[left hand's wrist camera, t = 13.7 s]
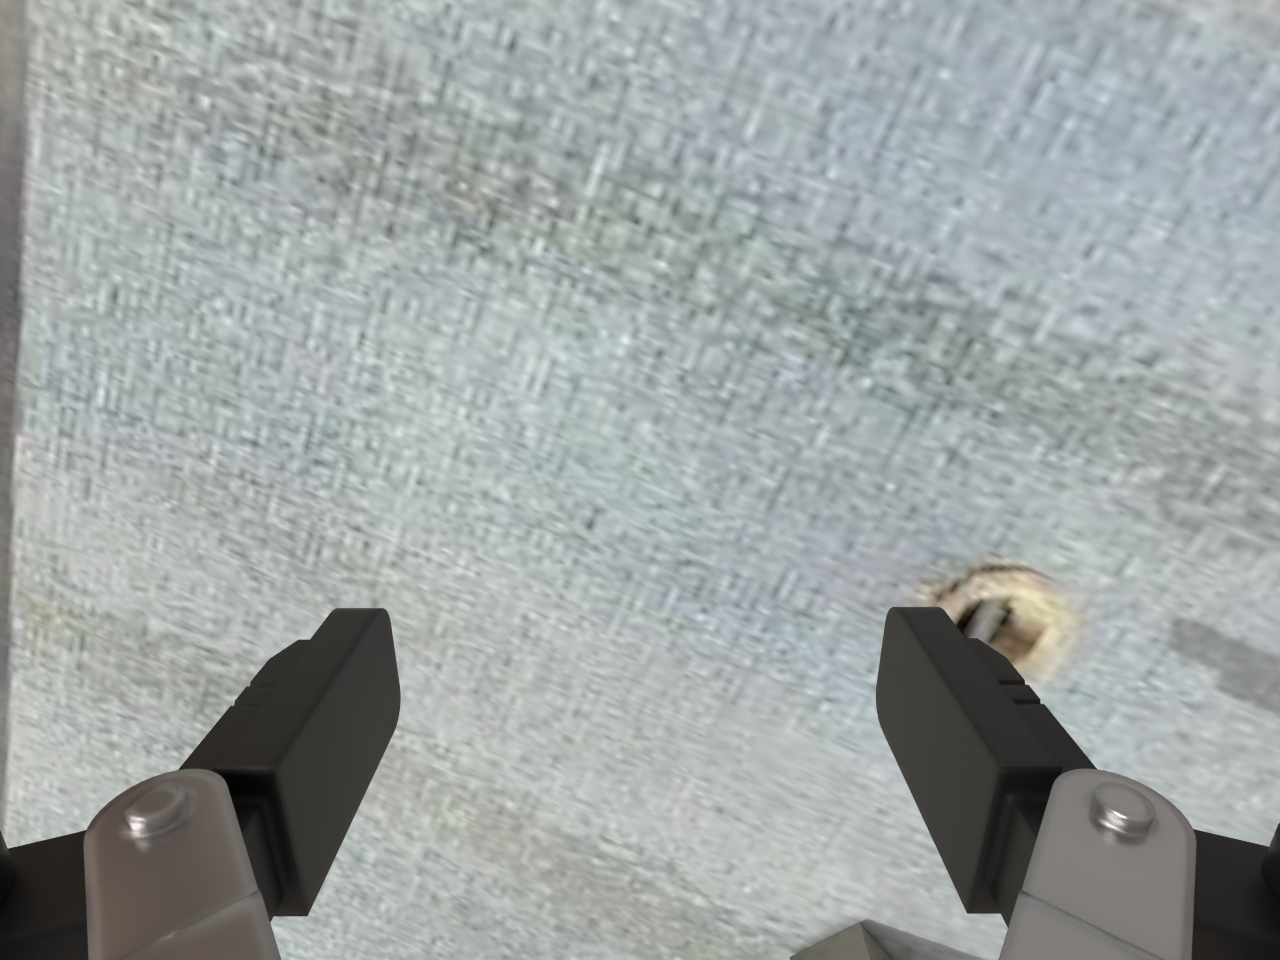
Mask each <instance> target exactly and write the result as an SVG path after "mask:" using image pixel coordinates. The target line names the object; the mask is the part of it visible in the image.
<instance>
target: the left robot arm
mask: <svg viewBox="0 0 1280 960" xmlns="http://www.w3.org/2000/svg"><path fill="white" fill-rule="evenodd" d="M250 683H251V684H250V687H246V688H245V689H244V690H243V692H242V693H241V694H240V695H239V697H238V698H237V699H236V700H235V705H234V706H230V708H229V709H228V710H227V711H226V712H225V714H224V715H223V716H222V717H221V718H220V720H219V721H218V722H217V723H216V725H215V726H214V727H213V728H212V729H211V731H210V732H209V733H208V734H207V735H206V737H205V738H204V739H203V740H202V742H201V743H200V744H199V745H198V746H197V748H196V749H195V750H194V751H193V752H192V754H191V755H190V756H189V757H188V759H187V760H186V761H185V762H184V763H183V765H182V766H181V767H180V768H179V770H176V771H172V772H168V773H164V774H161V775H158V776H155V777H152V778H150V779H147V780H145V781H143V782H140V783H139V784H137V785H135V786H133V787H131V788H129V789H128V790H126V791H124V792H123V793H121V794H120V795H118V796H117V797H116V798H114V799H113V800H112V801H110V802H109V803H108V804H107V805H106V806H105V807H104V808H103V809H101V810H100V811H99V813H98V814H97V815H96V816H95V817H94V819H93V820H92V821H91V823H90V825H89V826H88V828H87V830H85V831H81V832H77V833H73V834H69V835H65V836H61V837H56V838H52V839H48V840H43V841H39V842H35V843H31V844H26V845H22V846H18V847H13V848H9V849H8V848H7V846H6V843H5V841H4V839H3V836H2V834H1V831H0V960H281V957H280V954H279V951H278V947H277V944H276V941H275V937H274V934H273V931H272V927H271V924H270V922H271V920H272V918H273V916H308V914H309V912H310V910H311V907H312V905H313V903H314V901H315V899H316V897H317V895H318V893H319V890H320V888H321V886H322V884H323V882H324V880H325V878H326V876H327V873H328V871H329V869H330V867H331V865H332V863H333V861H334V859H335V856H336V854H337V852H338V850H339V848H340V846H341V844H342V842H343V839H344V837H345V835H346V833H347V831H348V829H349V827H350V824H351V822H352V820H353V818H354V816H355V814H356V812H357V810H358V807H359V805H360V803H361V801H362V799H363V797H364V795H365V793H366V790H367V788H368V786H369V784H370V782H371V780H372V778H373V776H374V773H375V771H376V769H377V767H378V765H379V763H380V761H381V759H382V756H383V754H384V752H385V750H386V748H387V746H388V744H389V742H390V739H391V737H392V735H393V733H394V731H395V728H396V725H397V721H398V717H399V711H400V685H399V677H398V670H397V663H396V656H395V649H394V642H393V635H392V628H391V622H390V617H389V614H388V612H387V611H386V610H385V609H383V608H337V609H334V610H333V611H332V612H331V613H330V614H329V616H328V617H327V618H326V620H325V621H324V622H323V623H322V625H321V626H320V627H319V629H318V630H317V631H316V633H315V634H314V635H313V637H312V638H311V639H310V640H297V641H296V642H294V643H293V644H291V645H290V646H288V647H287V648H285V649H284V650H282V651H281V652H279V653H278V654H276V655H275V656H273V657H272V658H270V659H269V660H268V661H267V663H266V664H265V665H264V666H263V667H262V669H261V670H260V671H259V672H258V673H257V675H256V676H255V677H254V678H253V680H252V681H251V682H250ZM876 706H877V713H878V718H879V722H880V726H881V728H882V731H883V733H884V735H885V737H886V739H887V742H888V744H889V746H890V748H891V750H892V752H893V755H894V757H895V759H896V761H897V763H898V765H899V767H900V770H901V772H902V774H903V776H904V778H905V780H906V783H907V785H908V787H909V789H910V791H911V793H912V795H913V798H914V800H915V802H916V804H917V806H918V808H919V811H920V813H921V815H922V817H923V819H924V821H925V823H926V826H927V828H928V830H929V832H930V834H931V836H932V839H933V841H934V843H935V845H936V847H937V849H938V851H939V854H940V856H941V858H942V860H943V862H944V864H945V867H946V869H947V871H948V873H949V875H950V877H951V879H952V882H953V884H954V886H955V888H956V890H957V892H958V895H959V897H960V899H961V901H962V903H963V905H964V907H965V910H966V912H967V913H1001V915H1002V917H1003V919H1004V921H1005V923H1006V925H1007V927H1008V931H1007V934H1006V937H1005V941H1004V944H1003V947H1002V951H1001V954H1000V957H999V960H1280V823H1279V824H1278V827H1277V829H1276V832H1275V834H1274V837H1273V839H1272V842H1271V844H1270V846H1269V847H1267V846H1263V845H1259V844H1254V843H1250V842H1246V841H1242V840H1237V839H1233V838H1229V837H1224V836H1220V835H1216V834H1212V833H1207V832H1203V831H1199V830H1195V829H1193V828H1192V826H1191V825H1190V823H1189V821H1188V820H1187V819H1186V817H1185V816H1184V815H1183V814H1182V813H1181V811H1180V810H1179V809H1177V808H1176V807H1175V806H1174V805H1173V804H1172V803H1171V802H1170V801H1168V800H1167V799H1166V798H1164V797H1163V796H1162V795H1160V794H1159V793H1157V792H1156V791H1154V790H1152V789H1151V788H1149V787H1147V786H1145V785H1143V784H1141V783H1140V782H1137V781H1135V780H1133V779H1130V778H1128V777H1125V776H1122V775H1119V774H1116V773H1112V772H1108V771H1104V770H1097V768H1096V767H1095V766H1094V765H1093V764H1092V762H1091V761H1090V760H1089V759H1088V757H1087V756H1086V755H1085V754H1084V753H1083V751H1082V750H1081V749H1080V748H1079V746H1078V745H1077V744H1076V743H1075V741H1074V740H1073V739H1072V738H1071V737H1070V735H1069V734H1068V733H1067V732H1066V730H1065V729H1064V728H1063V727H1062V726H1061V724H1060V723H1059V722H1058V721H1057V719H1056V718H1055V717H1054V716H1053V714H1052V713H1051V712H1050V711H1049V710H1048V708H1047V707H1046V706H1045V705H1044V704H1041V703H1040V699H1039V697H1038V696H1037V695H1036V694H1035V692H1034V691H1033V690H1032V689H1031V688H1030V686H1029V685H1025V680H1024V679H1023V678H1022V676H1021V675H1020V674H1019V673H1018V672H1017V670H1016V669H1015V668H1014V667H1013V665H1012V664H1011V663H1010V662H1009V661H1008V659H1007V658H1006V657H1004V656H1003V655H1001V654H1000V653H998V652H997V651H995V650H994V649H992V648H991V647H989V646H988V645H986V644H985V643H983V642H982V641H980V640H979V639H977V638H965V637H964V636H963V634H962V633H961V632H960V630H959V629H958V628H957V627H956V625H955V624H954V623H953V621H952V620H951V619H950V617H949V616H948V615H947V613H946V612H945V611H944V610H943V609H942V608H940V607H892V608H891V609H890V610H889V611H888V614H887V617H886V622H885V629H884V636H883V643H882V650H881V657H880V665H879V672H878V679H877V686H876Z"/></svg>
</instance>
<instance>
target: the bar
mask: <svg viewBox="0 0 1280 960" xmlns="http://www.w3.org/2000/svg"><path fill="white" fill-rule="evenodd" d="M790 960H892V959H891V958H890V957H889V956H888V955H887V954H886V953H885V952H884V950H883V949H882V948H881V947H880V946H879V945H878V944H877V942H876V941H875V940H874V939H873V938H872V937H871V936H870V935H869V933H868V932H867V931H866V930H865V929H864V928H863V927H862V925H861V924H860V923H857V924H855V925H853V926H851V927H849V928H847V929H845V930H843V931H841V932H839V933H837V934H835V935H833V936H831V937H829V938H827V939H825V940H823V941H821V942H819V943H817V944H815V945H813V946H811V947H809V948H807V949H805V950H803V951H801V952H799V953H797V954H795V955H793V956H791V957H790Z"/></svg>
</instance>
